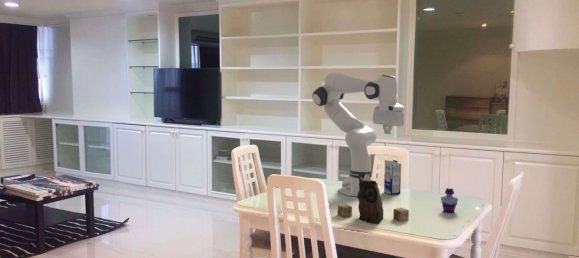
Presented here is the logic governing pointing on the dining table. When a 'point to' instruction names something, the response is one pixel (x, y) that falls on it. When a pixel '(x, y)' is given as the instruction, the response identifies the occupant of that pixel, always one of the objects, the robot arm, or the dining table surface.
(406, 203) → the dining table surface
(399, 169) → the milk carton
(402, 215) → the walnut block two
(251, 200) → the dining table surface
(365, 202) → the dark brown speaker
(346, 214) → the walnut block one
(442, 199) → the potion bottle
